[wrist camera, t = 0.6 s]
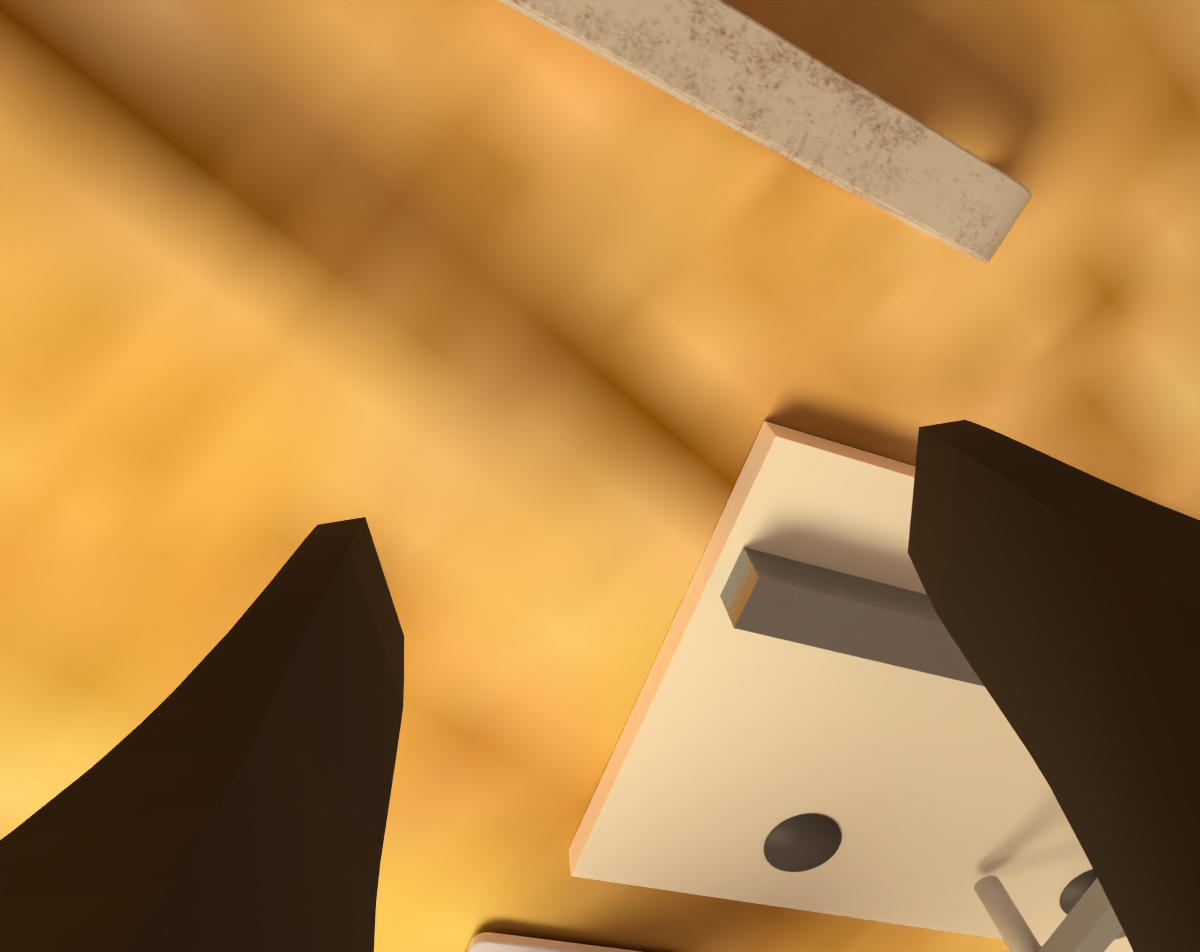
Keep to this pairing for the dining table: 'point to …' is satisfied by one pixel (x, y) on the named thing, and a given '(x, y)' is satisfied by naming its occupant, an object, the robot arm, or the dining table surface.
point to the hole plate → (824, 739)
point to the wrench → (797, 111)
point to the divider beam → (842, 616)
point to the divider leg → (1075, 939)
